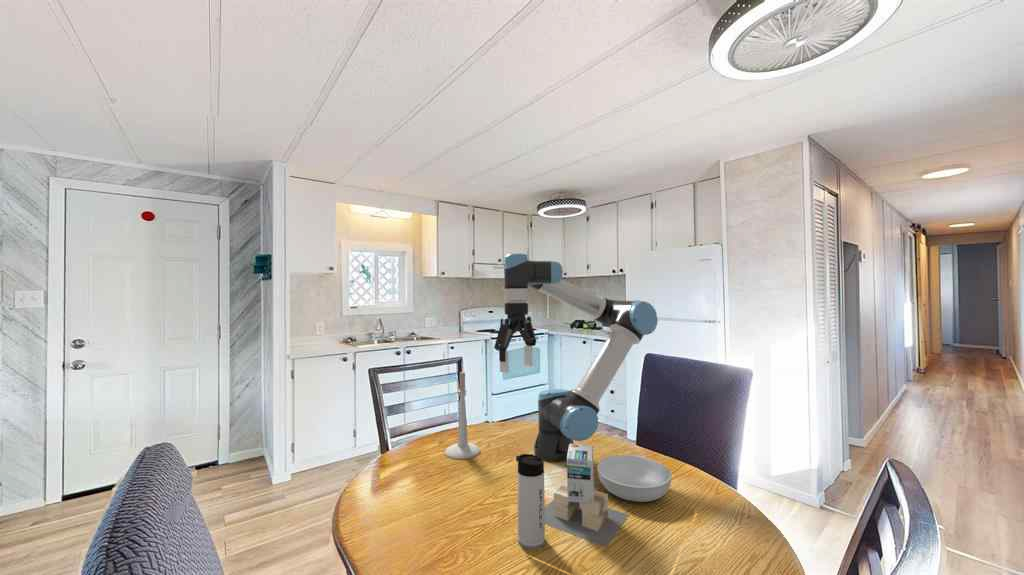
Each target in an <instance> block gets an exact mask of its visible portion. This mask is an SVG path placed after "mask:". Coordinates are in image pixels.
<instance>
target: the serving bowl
mask: <svg viewBox="0 0 1024 575" xmlns="http://www.w3.org/2000/svg"><path fill="white" fill-rule="evenodd" d="M596 466H597V467H596V469H597V470H596V471H597V474H598V475H597V476H598V478H599V481H600V482H601V484H602V486H604V488H605V489H606V490H607V491H608V492H609V493H610V494H612V495H613V496H616V497H618V498H620V499H622V500H626V501H630V502H636V503H637V502H638V503H639V502H640V503H645V502H646V503H647V502H652V501H656V500H659V499H660V498H662V497H664V495H666V493H667V492H669V489H670V487H671V483H672V472H671V471H670V469H669V468H668V467H667V466H665V465H664V464H663V463H661V462H659V461H658V460H657V461H656V460H655V459H652V458H648V457H646V456H645V457H644V456H641V455H636V454H635V455H633V454H616V455H614V454H613V455H609V456H607V457H604V458H603V459H600V460H599V462H598V463H597V464H596Z"/></svg>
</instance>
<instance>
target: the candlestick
mask: <svg viewBox="0 0 1024 575" xmlns="http://www.w3.org/2000/svg"><path fill="white" fill-rule="evenodd" d="M457 392H458V396H459V414H458V415H459V416H458V433H457V434H458V436H457V443H454V444H452V445H450V446H447V448H446V449H445V456H446V457H447V458H450V459H452V460H468V459H472V458H475V457H477V456H478V455H479V454H480V453H481V448H480V447H479V446H478V445H477V444H474V443H471V442H469V441H468V440H469V439H468V426H467V412H466V411H467V409H466V395H467V392H468V389H466V372H463V371H460V372H459V389H457Z"/></svg>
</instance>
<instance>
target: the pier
mask: <svg viewBox="0 0 1024 575" xmlns="http://www.w3.org/2000/svg"><path fill="white" fill-rule="evenodd" d="M608 508H609V494H608V493H604V492H601V491H598V490H595V489H594V504H589V503H582V526H584V527H587V528H589V529H592V530H595V531H598V530H599V529H600V527H601V526H602V525H603V524H604V522H605V521H606V520H607V519H608Z"/></svg>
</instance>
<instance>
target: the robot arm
mask: <svg viewBox="0 0 1024 575" xmlns="http://www.w3.org/2000/svg"><path fill="white" fill-rule="evenodd" d="M503 263H504V264H503V265H504V266H503V271H504V273H503V274H504V276H503V277H504V280H503V281H504V301H505V303H504V314H505V315H507V317H506V318H505V317H501V318H500V324H499V325H500V326H499V328H498V332H497V336H496V339H495V344H494V346H493V348H494V349H495V350H496V351H498V354H499V372H500V373H506V374H508V373H510V372H509V371H510V370H509V364H510V363H509V361H510V360H509V350H507V349H508V348H509V345H510V344H511V341H512V339H513V337H514V334H516V333H518V332H519V334H520V336H521V338H522V341H524V345H523V346H524V347H523V348H524V349H523V350H524V351H523V354H524V360H523V361H524V366H528V367H532V366H533V346H534V347H535V346H536V343H537V338H536V335H535V330H534V328H533V324H532V317H531V316H530V315H529V316H526V315H528V314H529V303H528V301H529V289H528V288H529V287H530V288H532V289H534V290H537V291H539V292H540V293H543V294H545V295H547V296H548V297H549V296H550V297H551V298H553V299H555V300H558V301H559V302H561V303H564V304H566V305H569V306H570V307H572V308H574V309H576V310H579V311H581V312H583V313H585V314H587V315H589V318H590V319H592V320H593V321H596V322H598V323H600V324H602V325H604V326H605V327H608V328H609V329H610V333H609V334H608V337H607V338H606V340H605V341H604V343H603V345H602V347H601V348H600V350H599V351H598V353H597V354H596V356H595V358H594V360H593V361H592V363H591V364H590V366H589V367H588V369H587V370H586V373H585V374H584V376H583V377H582V378H581V380H580V382H579V384H578V385H577V387H576V388H572V389H570V390H569V389H565V388H564V389H562V388H561V389H560V388H556V389H555V388H553V389H545V390H542V391H539V393H538V397H537V398H538V399H537V404H538V405H537V407H538V409H537V410H538V412H537V413H538V433H537V436H536V440H535V442H534V446H533V453H534V454H533V455H536V456H539V457H541V458H542V460H543V461H548V462H565V461H566V462H567V454H568V448H569V444H575V442H582V441H583V442H584V441H586V440H588V439H590V438H591V437H592V436H594V435H595V433H596V431H597V430H598V427H599V416H598V414H599V413H600V411H601V409H600V401H601V399H603V398H602V397H603V395H604V394H605V393H606V392H607V389H608V388H609V386H610V384H611V382H612V381H613V379H614V377H615V376H616V374H617V373H618V371H619V369H620V367H621V366H622V364H623V362H624V360H626V359H625V358H626V357H627V355H628V354H629V352H630V350H631V349H632V347H633V346H634V345H638V344H640V342H641V340H642V339H643V338H644V336H648V335H650V334H652V333H654V331H655V330H656V329H657V325H658V321H659V320H658V319H659V317H658V316H657V311H656V309H655V307H654V306H653V305H652V303H649V302H648V301H645V300H644V301H642V300H639V299H637V300H616V299H609V298H606V297H604V296H602V295H601V296H597V295H594V294H592V293H590V292H588V291H586V290H585V289H582V288H580V287H579V286H576V285H574V284H572V283H570V282H568V281H566V280H564V279H563V275H564V274H563V273H564V272H563V266H562V264H561V263H560V262H559V261H553V260H544V261H543V260H529V258H528V255H527V254H525V253H508V254H507V255H505V256H504V262H503ZM574 441H575V442H574Z"/></svg>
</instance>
